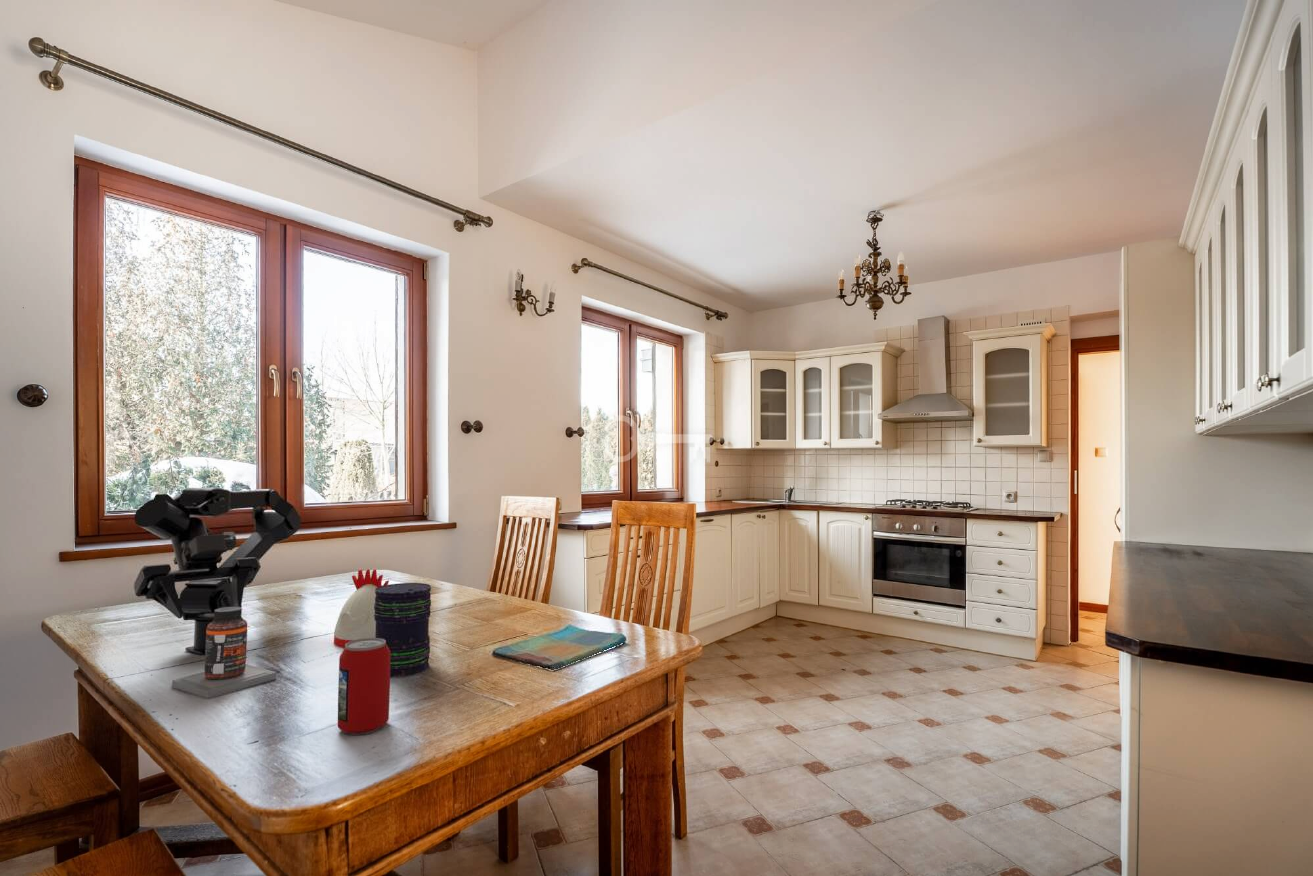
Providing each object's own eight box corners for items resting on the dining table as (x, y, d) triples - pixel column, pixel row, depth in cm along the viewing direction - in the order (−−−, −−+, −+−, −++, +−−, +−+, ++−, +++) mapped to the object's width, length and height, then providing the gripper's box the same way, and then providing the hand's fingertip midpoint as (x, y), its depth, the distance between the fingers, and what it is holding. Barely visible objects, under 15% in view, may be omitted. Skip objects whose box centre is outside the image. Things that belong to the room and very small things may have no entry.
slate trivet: (171, 687, 108) (172, 679, 108) (240, 669, 118) (240, 662, 118) (208, 698, 103) (208, 690, 103) (276, 679, 113) (276, 671, 113)
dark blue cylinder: (363, 669, 118) (365, 587, 119) (414, 658, 126) (415, 580, 126) (387, 681, 112) (389, 595, 112) (439, 669, 119) (441, 587, 119)
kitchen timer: (358, 629, 147) (360, 563, 148) (415, 632, 145) (417, 565, 146) (319, 646, 133) (321, 574, 134) (381, 649, 131) (383, 575, 132)
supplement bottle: (224, 682, 107) (227, 613, 108) (195, 679, 108) (197, 611, 109) (254, 671, 113) (256, 606, 113) (225, 668, 114) (228, 604, 115)
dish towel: (629, 646, 137) (629, 634, 137) (553, 675, 118) (554, 660, 118) (568, 634, 147) (568, 622, 147) (489, 659, 127) (489, 646, 127)
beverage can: (348, 719, 95) (350, 637, 96) (395, 717, 96) (397, 636, 96) (328, 738, 88) (331, 649, 89) (379, 736, 89) (381, 649, 90)
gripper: (144, 519, 113) (162, 592, 106) (259, 516, 128) (282, 579, 121) (126, 560, 117) (142, 632, 110) (239, 552, 132) (260, 615, 125)
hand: (211, 612), depth 116 cm, fingers open, 9 cm apart
